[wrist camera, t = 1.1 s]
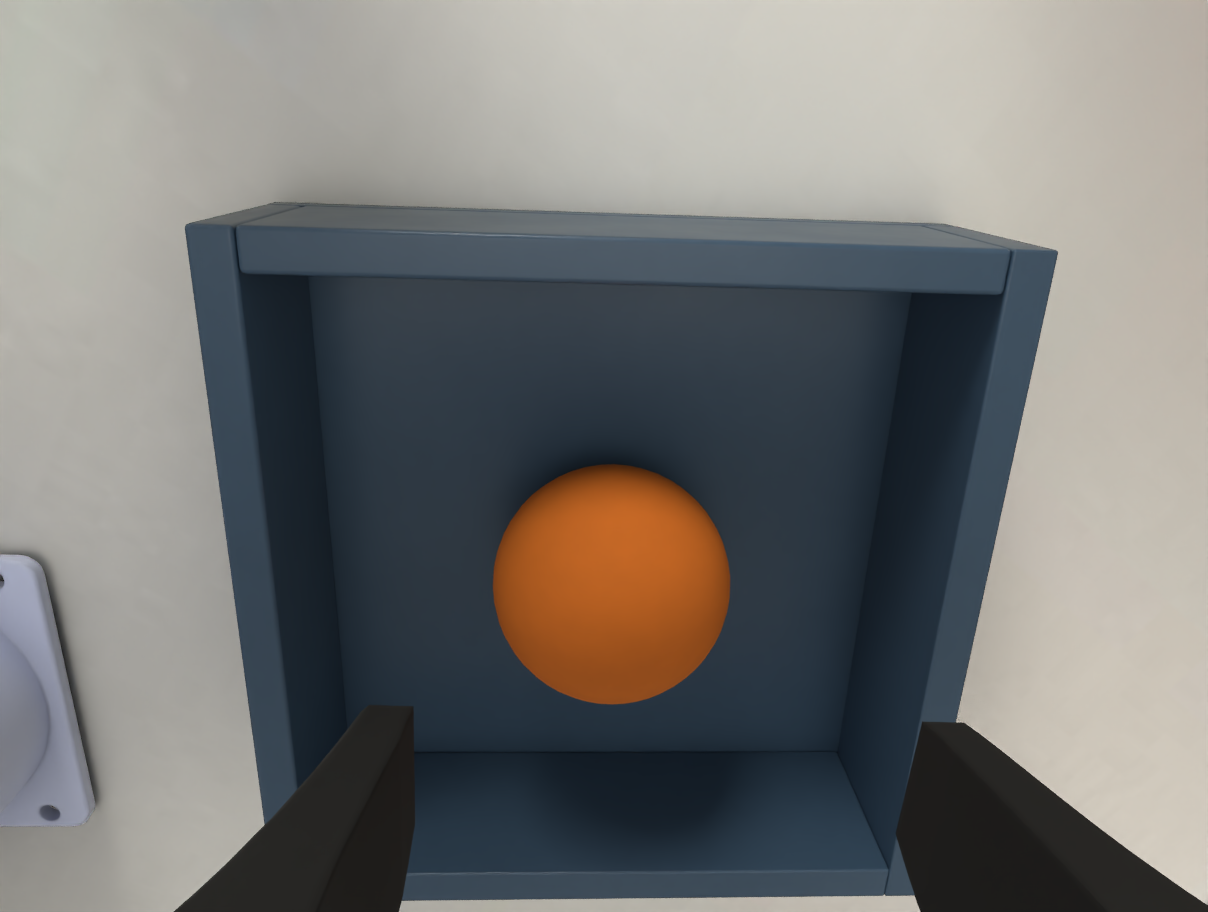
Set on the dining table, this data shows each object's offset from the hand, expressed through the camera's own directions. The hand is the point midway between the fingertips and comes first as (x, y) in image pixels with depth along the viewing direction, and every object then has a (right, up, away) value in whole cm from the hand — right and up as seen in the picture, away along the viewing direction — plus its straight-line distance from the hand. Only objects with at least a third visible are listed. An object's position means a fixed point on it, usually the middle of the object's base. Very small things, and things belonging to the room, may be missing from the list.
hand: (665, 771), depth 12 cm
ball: (-1, +2, +6) cm, 6 cm away
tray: (-1, +3, +9) cm, 10 cm away
